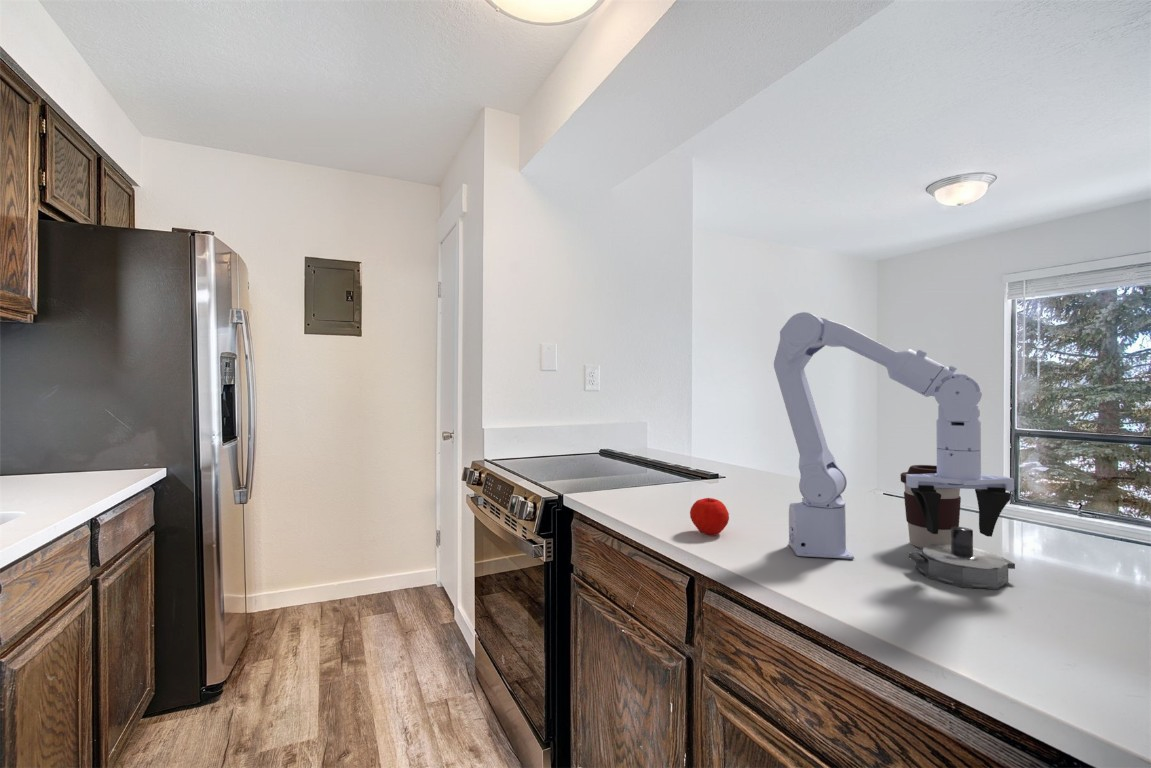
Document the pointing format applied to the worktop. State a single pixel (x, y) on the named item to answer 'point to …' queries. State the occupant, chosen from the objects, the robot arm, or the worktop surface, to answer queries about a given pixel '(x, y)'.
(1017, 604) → the worktop surface
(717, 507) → the apple
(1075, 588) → the worktop surface
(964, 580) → the pot
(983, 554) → the lid
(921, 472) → the coffee cup
